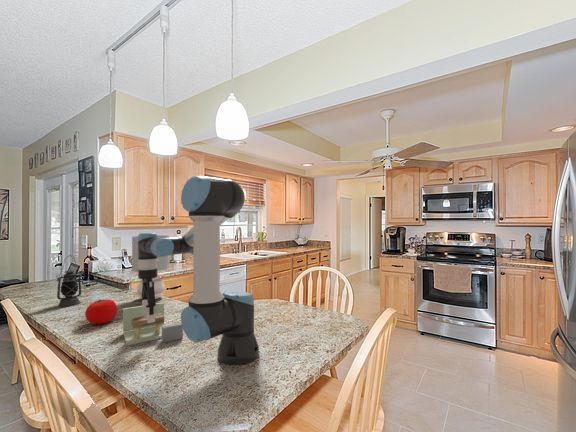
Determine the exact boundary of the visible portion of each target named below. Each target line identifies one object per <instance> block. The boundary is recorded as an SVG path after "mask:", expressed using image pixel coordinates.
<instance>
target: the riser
mask: <svg viewBox="0 0 576 432" xmlns="http://www.w3.org/2000/svg"><path fill="white" fill-rule="evenodd" d="M181 338H183V339H184V330H183V327H182V324H181V322H178V323H173V324H168V325H165V326H162V338H161V342H162V344H164V342H165V343H169V341H170V342H173V340H174V341H178V340H177V339H179V340H182V339H181Z"/></svg>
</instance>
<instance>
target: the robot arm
mask: <svg viewBox="0 0 576 432" xmlns="http://www.w3.org/2000/svg"><path fill="white" fill-rule="evenodd" d="M245 195H246V194H245V191H244V189H243V188H242V186H241V185H240V184H239V183H238V182H237V181H234V180H232V179H227V178H225V179H224V178H219V177H212V176H207V175H206V176H205V175H194V176H192V177H190V178H189V179H187V180H186V182H185V184H183V187H182V190H181V194H180V202H181V203H180V204H181V205H182V208H183V209H184V211H187V212H188V218H189V219H190V220H191V221H192V222H193V225H192V227H191V228H190V229H189V230H188V231H187V232H186V233H185V234H183V235H182V236H171V237H170V236H169V237H166V238H157V233H156V232H143V233H142V232H141V233H139V234H138V235H137V236H138V268H139V269H140V270H139V271H138V272H137V275H138V276H137V278H138V279H139V280H143V283H142V296H141V297H142V299H141V300H142V302H141V303H142V304H141V306H142V315H146V314H147V323H152V322H155V306H156V304H157V302H156V299H155V291H154V282H153V281H152V278H156V277H157V276H158V271H157V268H156V267H157V262H159V260H157V256H159V257H164V256H168V255H169V256H174V255H184V254H186V255H187V254H193V256H192V257H193V265H192V267H193V272H192V273H193V275H192V278H193V283H192V285H193V286H192V287H193V293H192V295H191V296H189V297H188V306H186V307H185V308H183V309H182V311H181V314H180V323H181V324H182V327H183V333H184V334H185V335H186V337H187V338H188V339H189V340H190V341H191V342H193V343H201V342H205V341H209V340H210V339H213V338H216V337H219V336H221V339H220V342H219V344H218V349H217V360H218V361H219V362H221V363H223V364H226V365H232V366H233V365H243V364H247V363H251V362H252V361H254V360H257V358H258V357H259V355H260V348H259V343H258V341H257V338H256V335H255V301H254V299H255V298H254V295H253V294H252V293H249V292H247V291H246V292H245V291H237V290H236V291H235V290H233V291H231V290H229V291H224V292H221V288H220V287H221V286H220V285H221V283H220V282H221V280H220V279H221V275H220V274H221V272H220V271H221V259H220V258H221V247H220V246H221V229H220V228H221V225H223V224H224V223H225V222H226V221H227V220H228V219H232V218H234V217H235V216H237V215H238V213H240V212H241V210H242V208H243V207H244V204H245V199H246V197H245ZM158 277H159V276H158Z"/></svg>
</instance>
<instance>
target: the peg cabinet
mask: <svg viewBox="0 0 576 432" xmlns="http://www.w3.org/2000/svg"><path fill="white" fill-rule="evenodd" d="M159 313H162V314H163V316H164V317H165V303H164V302H156V306H155V314H159ZM141 316H147V314H146V315H142V305H138V306H137V305H136V306H132V307H131V306H130V307H126V308H122V334H123V335H122V336H123V338H124V341H125V346H132V345H136V344H140V343H145V342H149V341H155V340H160V339H162V326H166V325H165V322H164V323H158V324H153V325H148V326H143V327H137V328H133V326H132V318H136V317H141ZM159 338H160V339H159Z"/></svg>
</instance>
